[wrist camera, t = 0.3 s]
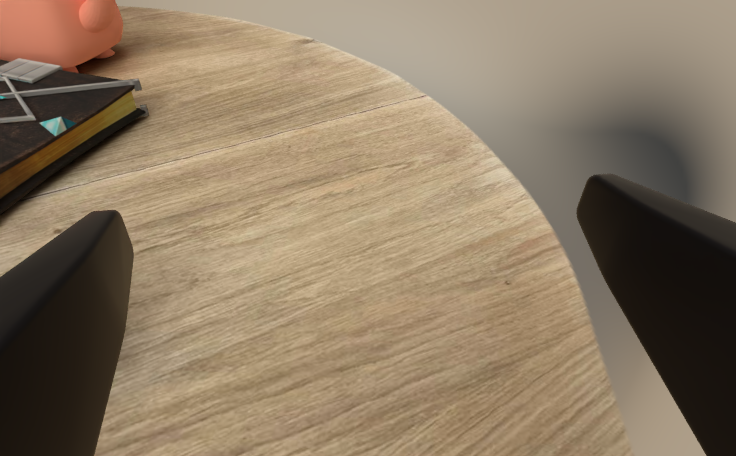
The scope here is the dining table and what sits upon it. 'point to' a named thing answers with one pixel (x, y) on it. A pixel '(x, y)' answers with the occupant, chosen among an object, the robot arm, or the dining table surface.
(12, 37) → the teapot
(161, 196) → the dining table surface
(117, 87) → the book
